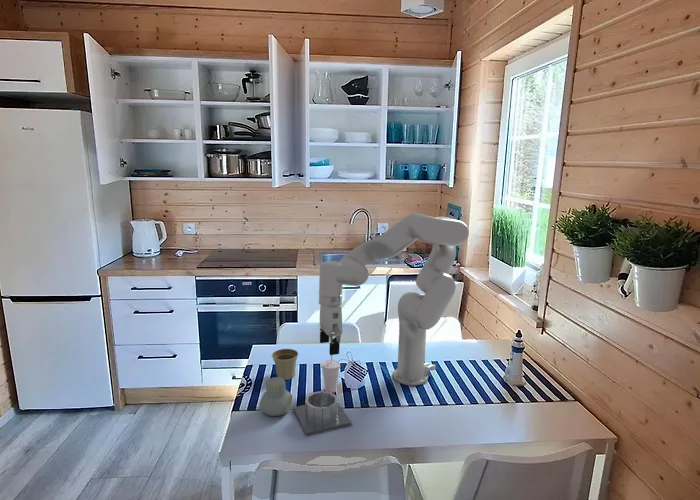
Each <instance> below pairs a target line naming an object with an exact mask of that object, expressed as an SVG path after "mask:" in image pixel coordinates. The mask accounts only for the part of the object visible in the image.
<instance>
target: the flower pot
mask: <svg viewBox="0 0 700 500" xmlns="http://www.w3.org/2000/svg"><path fill="white" fill-rule="evenodd" d="M271 357H272V359H273V362H274V366H275V373H276V377H280V378H283V379H284V380H285V381H288V380H292V379H293V378H294V377H295V373H296V367H297V366H296V364H297V359H298V357H299V352H298V351H297V350H296V349H293V348H281V349H277V350H274V351H273V352H272V354H271Z"/></svg>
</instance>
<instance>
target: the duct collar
mask: <svg viewBox="0 0 700 500" xmlns="http://www.w3.org/2000/svg"><path fill="white" fill-rule="evenodd" d="M292 408H293V412H294V414H295V416H296V418H297V420H298V422H299V424H300V426H301V428H302V430H303V432H304V435H305V437H308V436H312V435H317V434H321V433H325V432H328V431H333V430H337V429H341V428H347V427H350V426H352V421H351V420H350V418H349V416H348V415H347V413H346V412H345V411H344V409H343V407H342V406H341V405H340V403H339V399H338V397H337V395H336V394H335V393H330V392H326V391H325V390H324V391H323V390H319V391H315V392H312V393H309V394H308V395H307V396H306V398H305V400H304V404H302V405H298V406H293V407H292Z"/></svg>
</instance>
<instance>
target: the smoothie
mask: <svg viewBox="0 0 700 500" xmlns="http://www.w3.org/2000/svg"><path fill="white" fill-rule="evenodd" d="M340 368H341V363H340V362H339V361H338V360H334V359H333V355H330V359H328V360H323V362H321V369H322V375H323V380H324V382H323V383H324V391H325V392H330V393H333V394H335V393H336V392H337V386H338V379H339V373H340Z"/></svg>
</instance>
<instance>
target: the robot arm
mask: <svg viewBox="0 0 700 500" xmlns="http://www.w3.org/2000/svg"><path fill="white" fill-rule="evenodd" d="M469 235H470V230H469V227H468V225H467V224H466V223H465V222H463V221H461V220H458V219H455V218H451V217H447V216H442V215H440V216H436V217H434V216H430V215H427V214H422V213H418V212H411V213H409V214H407V215H406V216H404V217H403V218H401V219H400V220H399V221H398V222H397V223H395V224H393V225H392V226H391V227H390V228H389V229H387V230H385V231H384V232H383V233H381V234H380V235H378V236H376V237H373V238H372V239H370V240H368V241H365V242H363V243H361V244H359V245H357V246H356V247H354V248H353V249H351V250H350V251H349V252H348V253H346V254H345V255H344V256H343V257H341V259H340V260H339V261H336V260H326V261H322V262H321V263H320V264H319V282H318V283H319V287H318V289H319V290H318V304H319V305H320V306H319V307H320V308H319V309H320V310H319V331H320V332H319V343H320V344H324V343H325V344H326V343H329V342H330V343H329V350H328V352H329V355H330V356H331V355H332V356H334V355H339V354H340V344H341V337H342V336H341V335H343V310H342V305H343V286H344V285H346V286H361V285H364V284H365V283H366V282H367V281H368V279H369V277H370V276H369V274H370V273H369V269H368V268H367V267H366V266H367V265H368V264H370V263H372V262H374V261H377V260H381V259H390V258H394V257H397V256H398V255H399V254H400V253H401V252H403V251H404V250H405V249H407V248H408V247H410V246H411V245H412V244H414V243H415V242H416V241H419V242H421V243H426V244H432V248H431V252H430V253H429V255H428V257H427V260H426V261H425V262H424V264H423V266H422V267H421V269H420V271H419V272H418V274H417V277H416V280H415V285H416V286H417V287H416V288H418V289H419V291H421V292H423V293H424V295H421V294H420V293H417V292H415V291H409V292H406V293H404V294H402V295H401V296H400V298H399V300H398V303H397V314H398V316H397V317H398V327H399V328H398V349H397V350H398V351H397V368H396V369H394V370H393V372H392V377H393V379H394V380H395V381H396V382H397V383H400V384H402V385H405V386H413V387H414V386H420V385H424V384H426V383H427V381H428V380H429V374H428V373H429V371H436V370H437V366H436V365H435V364H430V363H429V362H425V361H426V360H425V359H426V356H425V355H426V340H427V330H430V329H433V328H434V327H435V326H436V325H437V324H438V322H439V321H440V320H441V318H442V317H443V315H444V313H445V311H446V310H447V308H448V306H450V303H451V302H452V300H453V298H454V295H455V293H456V290H457V289H456V286H457V285H456V281H455V278H453V276H452V275H450V274H449V272H450V270H451V269H452V267H453V265H454V263H455V259H456V257H457V247H458V246H460V245H463V244H464V243H465V242H466V241H467V240H468V238H469ZM333 337H334V338H333Z"/></svg>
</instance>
